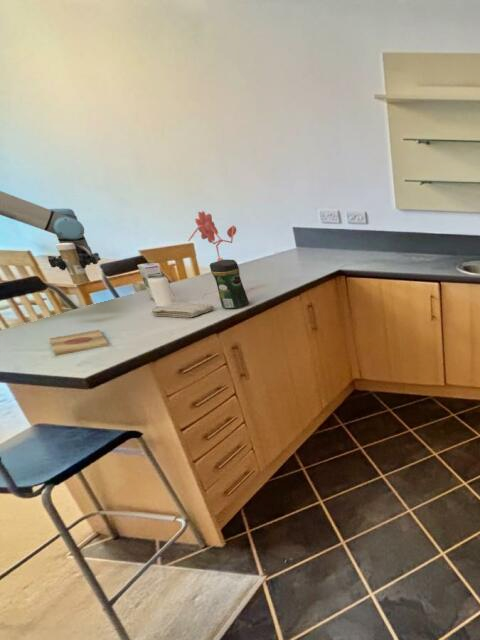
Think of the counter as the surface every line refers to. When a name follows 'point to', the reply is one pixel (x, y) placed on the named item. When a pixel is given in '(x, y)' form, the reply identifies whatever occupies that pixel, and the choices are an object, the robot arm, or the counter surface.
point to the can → (161, 290)
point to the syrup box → (149, 274)
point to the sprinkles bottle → (72, 263)
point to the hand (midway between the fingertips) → (71, 265)
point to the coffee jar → (229, 284)
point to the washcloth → (182, 309)
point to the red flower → (211, 231)
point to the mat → (77, 342)
